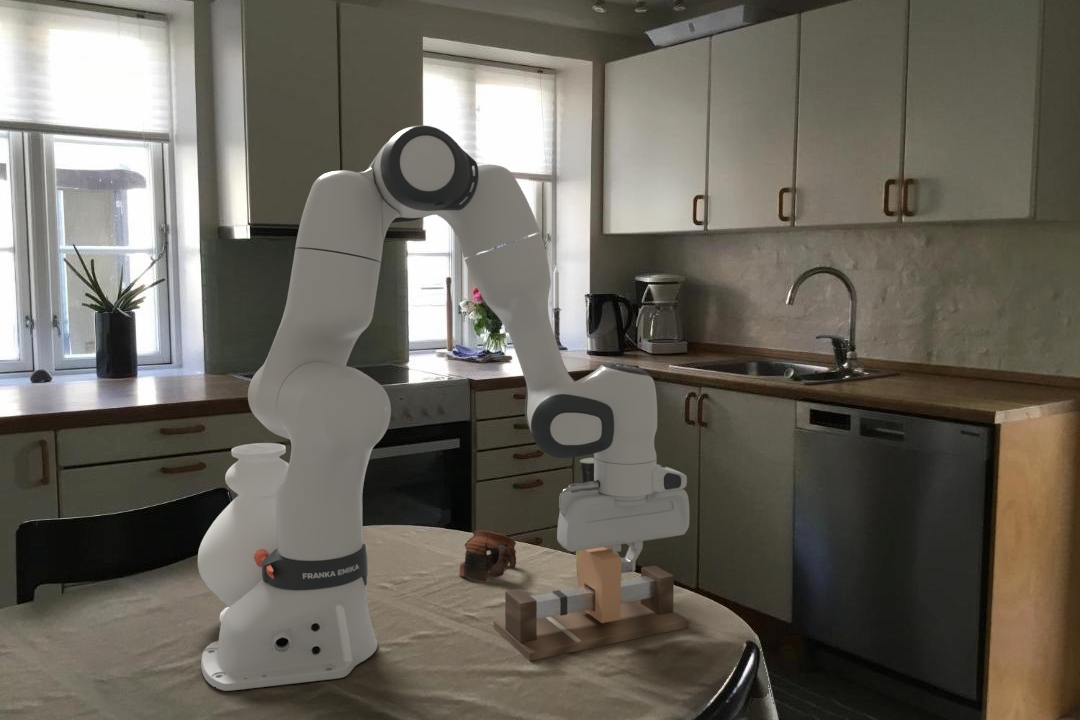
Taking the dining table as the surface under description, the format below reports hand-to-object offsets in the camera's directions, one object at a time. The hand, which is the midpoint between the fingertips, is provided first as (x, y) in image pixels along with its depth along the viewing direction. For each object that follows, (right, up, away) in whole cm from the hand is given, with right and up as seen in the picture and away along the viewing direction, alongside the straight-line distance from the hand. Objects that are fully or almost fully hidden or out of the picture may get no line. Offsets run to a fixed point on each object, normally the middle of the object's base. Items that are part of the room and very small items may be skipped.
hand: (623, 571), depth 134 cm
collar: (-4, -6, -1) cm, 7 cm away
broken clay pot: (-20, -5, +21) cm, 29 cm away
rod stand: (-5, -8, -1) cm, 9 cm away
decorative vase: (-52, -7, +3) cm, 53 cm away
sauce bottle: (-3, -6, +18) cm, 19 cm away
